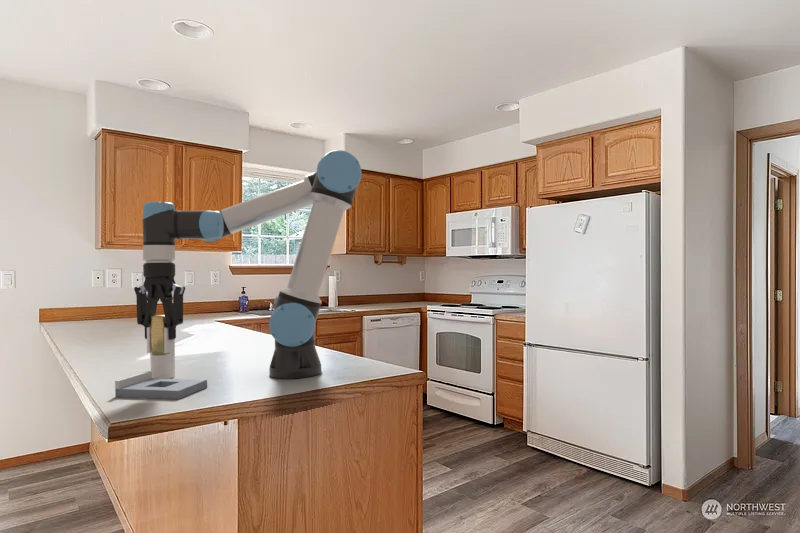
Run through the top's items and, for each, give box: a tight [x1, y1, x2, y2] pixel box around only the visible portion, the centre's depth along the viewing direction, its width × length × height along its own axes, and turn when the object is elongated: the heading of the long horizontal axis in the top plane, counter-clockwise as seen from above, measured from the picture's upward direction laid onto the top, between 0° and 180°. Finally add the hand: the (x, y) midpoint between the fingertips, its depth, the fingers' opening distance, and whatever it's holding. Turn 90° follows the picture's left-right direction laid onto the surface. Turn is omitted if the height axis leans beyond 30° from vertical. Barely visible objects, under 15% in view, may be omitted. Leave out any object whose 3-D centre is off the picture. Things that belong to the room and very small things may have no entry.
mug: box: [149, 338, 176, 379], centre depth 152 cm, size 10×7×12 cm, turn 5°
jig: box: [114, 370, 208, 400], centre depth 132 cm, size 18×12×4 cm, turn 78°
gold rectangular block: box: [151, 314, 170, 356], centre depth 132 cm, size 4×4×10 cm
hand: (160, 351), depth 132 cm, fingers closed on gold rectangular block, 4 cm apart
